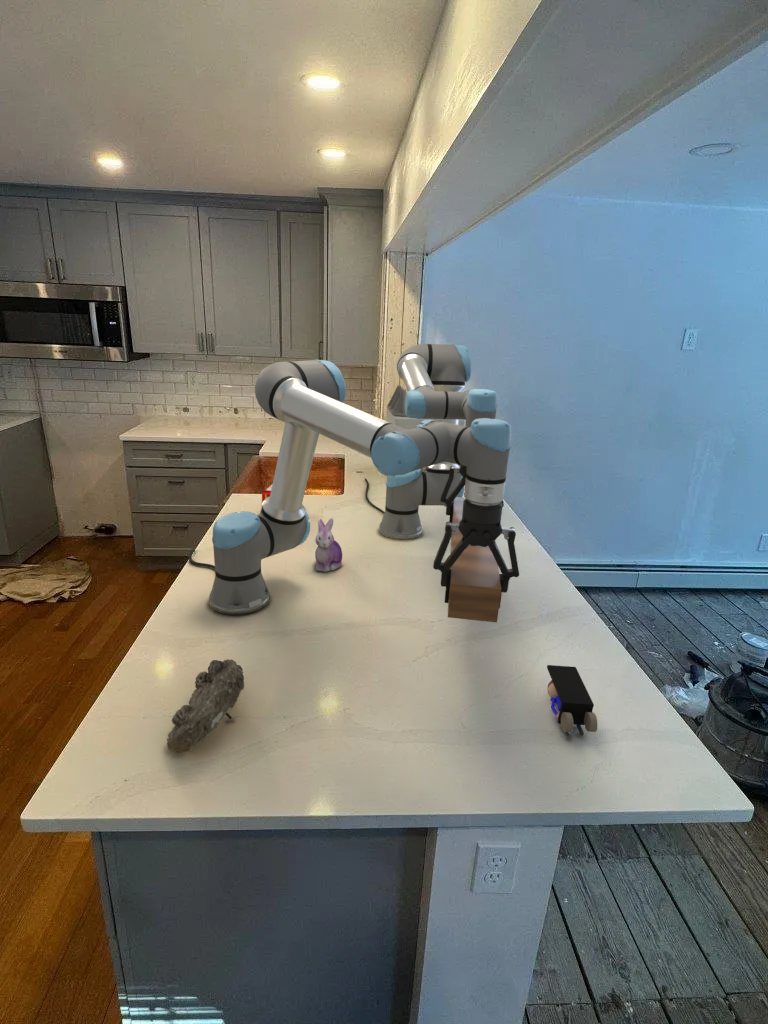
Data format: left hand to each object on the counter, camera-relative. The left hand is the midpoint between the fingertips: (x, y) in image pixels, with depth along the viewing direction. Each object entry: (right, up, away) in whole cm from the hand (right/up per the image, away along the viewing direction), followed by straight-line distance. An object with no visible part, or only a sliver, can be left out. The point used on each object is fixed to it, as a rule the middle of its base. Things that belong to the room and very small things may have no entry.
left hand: (471, 602), depth 117 cm
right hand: (+6, +14, +40) cm, 43 cm away
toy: (-57, +17, +95) cm, 112 cm away
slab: (+3, +6, +20) cm, 22 cm away
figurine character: (+18, -22, -5) cm, 29 cm away
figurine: (-35, +2, +56) cm, 66 cm away
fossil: (-51, -20, -9) cm, 56 cm away
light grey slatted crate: (-1, +37, +158) cm, 162 cm away
